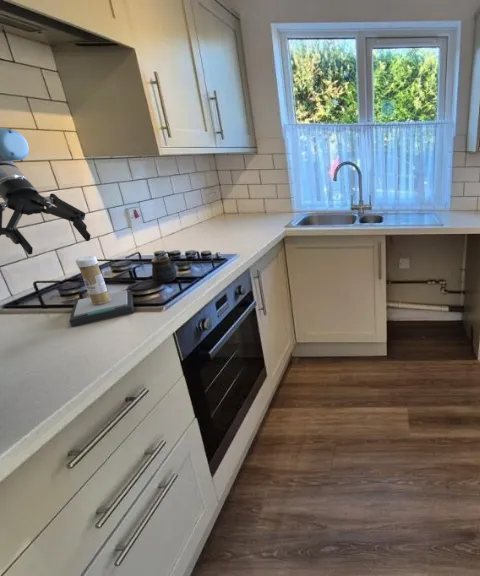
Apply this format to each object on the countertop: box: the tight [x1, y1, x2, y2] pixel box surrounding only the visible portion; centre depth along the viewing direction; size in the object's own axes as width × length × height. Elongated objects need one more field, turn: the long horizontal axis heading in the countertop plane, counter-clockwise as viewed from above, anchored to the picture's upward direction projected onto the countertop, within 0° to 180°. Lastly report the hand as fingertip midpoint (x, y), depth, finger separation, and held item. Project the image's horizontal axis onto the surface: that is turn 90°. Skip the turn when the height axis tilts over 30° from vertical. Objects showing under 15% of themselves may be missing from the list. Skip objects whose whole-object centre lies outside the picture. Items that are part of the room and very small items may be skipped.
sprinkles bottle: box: [75, 255, 111, 305], centre depth 101 cm, size 5×5×13 cm
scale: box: [68, 289, 134, 328], centre depth 105 cm, size 14×14×3 cm
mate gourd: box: [150, 256, 177, 284], centre depth 123 cm, size 7×8×10 cm
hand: (61, 244), depth 100 cm, fingers open, 13 cm apart
